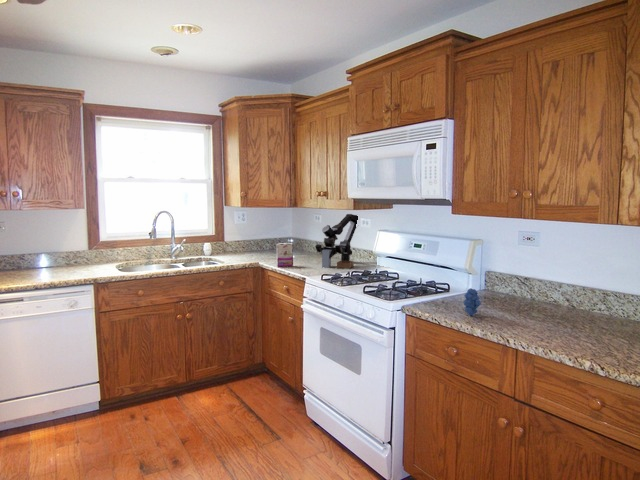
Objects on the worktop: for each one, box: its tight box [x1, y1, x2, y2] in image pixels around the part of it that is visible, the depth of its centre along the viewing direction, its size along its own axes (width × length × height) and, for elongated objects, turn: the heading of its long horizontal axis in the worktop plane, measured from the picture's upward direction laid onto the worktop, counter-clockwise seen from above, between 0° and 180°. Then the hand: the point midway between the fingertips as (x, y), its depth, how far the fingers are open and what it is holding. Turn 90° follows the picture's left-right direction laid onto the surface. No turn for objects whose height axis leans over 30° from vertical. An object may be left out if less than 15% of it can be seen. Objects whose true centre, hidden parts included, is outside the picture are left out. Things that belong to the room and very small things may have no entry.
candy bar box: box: [276, 242, 294, 268], centre depth 314 cm, size 11×5×16 cm, turn 105°
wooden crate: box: [336, 260, 355, 270], centre depth 312 cm, size 9×9×4 cm
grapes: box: [462, 288, 482, 316], centre depth 189 cm, size 12×7×12 cm, turn 135°
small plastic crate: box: [321, 250, 332, 269], centre depth 312 cm, size 5×5×12 cm
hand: (325, 258), depth 311 cm, fingers closed on small plastic crate, 5 cm apart
